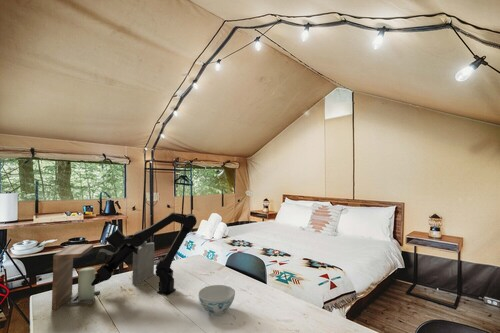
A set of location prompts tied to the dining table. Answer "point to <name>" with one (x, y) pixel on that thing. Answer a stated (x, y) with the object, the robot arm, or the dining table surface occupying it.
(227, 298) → the chinaware
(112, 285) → the dining table surface
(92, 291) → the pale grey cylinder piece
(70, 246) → the walnut overhang
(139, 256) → the hip flask
